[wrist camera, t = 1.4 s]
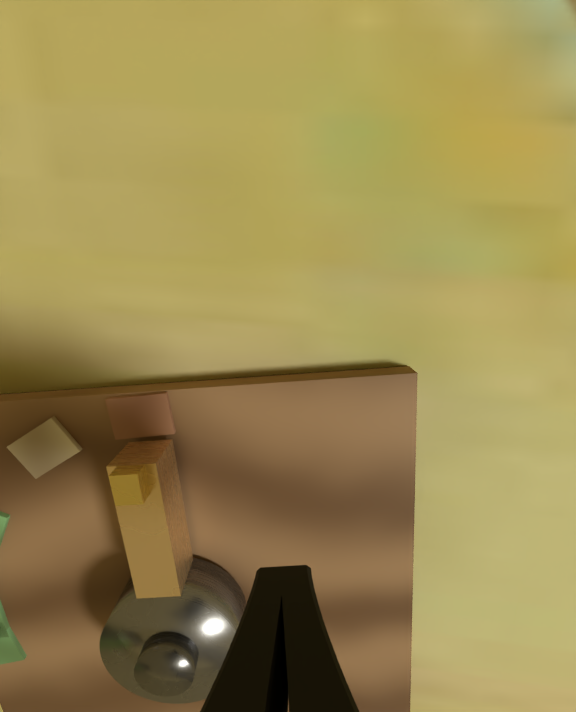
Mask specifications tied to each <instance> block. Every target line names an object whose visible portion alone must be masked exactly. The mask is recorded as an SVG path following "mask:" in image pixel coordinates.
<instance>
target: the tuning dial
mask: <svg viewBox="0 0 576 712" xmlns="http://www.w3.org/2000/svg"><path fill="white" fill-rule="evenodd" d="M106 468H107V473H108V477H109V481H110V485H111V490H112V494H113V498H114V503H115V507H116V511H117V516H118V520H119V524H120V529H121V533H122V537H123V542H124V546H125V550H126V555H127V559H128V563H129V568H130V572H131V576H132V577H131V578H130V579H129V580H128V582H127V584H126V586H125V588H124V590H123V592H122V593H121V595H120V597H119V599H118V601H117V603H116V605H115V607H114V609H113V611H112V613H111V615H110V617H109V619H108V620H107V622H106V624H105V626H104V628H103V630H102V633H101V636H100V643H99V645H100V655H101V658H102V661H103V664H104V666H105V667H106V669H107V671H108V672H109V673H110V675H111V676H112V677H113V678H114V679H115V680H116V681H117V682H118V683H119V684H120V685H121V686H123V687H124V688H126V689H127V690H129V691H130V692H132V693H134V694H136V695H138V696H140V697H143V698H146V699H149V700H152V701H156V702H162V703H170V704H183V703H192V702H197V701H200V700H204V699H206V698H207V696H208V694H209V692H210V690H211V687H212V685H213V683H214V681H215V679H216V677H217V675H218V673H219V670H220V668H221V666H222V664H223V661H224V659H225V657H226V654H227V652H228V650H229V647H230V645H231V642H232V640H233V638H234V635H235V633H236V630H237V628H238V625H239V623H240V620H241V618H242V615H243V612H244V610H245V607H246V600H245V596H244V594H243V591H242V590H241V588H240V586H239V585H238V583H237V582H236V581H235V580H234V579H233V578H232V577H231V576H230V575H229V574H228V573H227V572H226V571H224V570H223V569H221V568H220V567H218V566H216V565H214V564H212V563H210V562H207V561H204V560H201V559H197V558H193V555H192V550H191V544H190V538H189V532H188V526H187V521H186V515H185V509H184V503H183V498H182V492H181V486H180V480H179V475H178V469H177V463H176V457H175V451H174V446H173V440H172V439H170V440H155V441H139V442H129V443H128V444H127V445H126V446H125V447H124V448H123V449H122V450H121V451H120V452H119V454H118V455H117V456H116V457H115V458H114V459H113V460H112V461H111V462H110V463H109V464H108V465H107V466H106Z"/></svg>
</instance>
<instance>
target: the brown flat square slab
mask: <svg viewBox="0 0 576 712" xmlns="http://www.w3.org/2000/svg"><path fill="white" fill-rule="evenodd" d="M416 411H417V372H415V371H414V370H413V369H412V368H410V367H409V366H404V367H390V368H375V369H361V370H346V371H331V372H317V373H302V374H288V375H273V376H259V377H244V378H230V379H215V380H201V381H186V382H172V383H157V384H143V385H128V386H113V387H99V388H84V389H70V390H55V391H41V392H26V393H12V394H0V704H1V707H2V709H3V712H200V711H201V709H202V707H203V705H204V702H205V700H206V699H204V700H200V701H197V702H192V703H183V704H170V703H162V702H156V701H152V700H149V699H146V698H143V697H140V696H138V695H136V694H134V693H132V692H130V691H129V690H127V689H126V688H124V687H123V686H121V685H120V684H119V683H118V682H117V681H116V680H115V679H114V678H113V677H112V676H111V675H110V673H109V672H108V671H107V669H106V667H105V666H104V664H103V661H102V658H101V655H100V645H99V643H100V636H101V633H102V630H103V628H104V626H105V624H106V622H107V620H108V619H109V617H110V615H111V613H112V611H113V609H114V607H115V605H116V603H117V601H118V599H119V597H120V595H121V593H122V592H123V590H124V588H125V586H126V584H127V582H128V580H129V579H130V578H131V577H132V576H131V572H130V568H129V563H128V559H127V555H126V550H125V546H124V542H123V537H122V533H121V529H120V524H119V520H118V516H117V511H116V507H115V503H114V498H113V494H112V490H111V485H110V481H109V477H108V473H107V468H106V466H107V465H108V464H109V463H110V462H111V461H112V460H113V459H114V458H115V457H116V456H117V455H118V454H119V452H120V451H121V450H122V449H123V448H124V447H125V446H126V445H127V444H128V443H129V442H139V441H155V440H170V439H172V440H173V446H174V451H175V457H176V463H177V469H178V475H179V480H180V486H181V492H182V498H183V503H184V509H185V515H186V521H187V526H188V532H189V538H190V544H191V550H192V555H193V558H197V559H201V560H204V561H207V562H210V563H212V564H214V565H216V566H218V567H220V568H221V569H223V570H224V571H226V572H227V573H228V574H229V575H230V576H231V577H232V578H233V579H234V580H235V581H236V582H237V583H238V585H239V586H240V588H241V590H242V591H243V594H244V596H245V600H246V604H247V601H248V598H249V595H250V592H251V589H252V586H253V583H254V579H255V575H256V571H257V570H258V569H259V568H260V567H277V566H295V565H307V566H309V567H310V568H311V573H312V579H313V584H314V589H315V593H316V597H317V600H318V604H319V607H320V611H321V614H322V617H323V620H324V623H325V626H326V629H327V632H328V635H329V638H330V640H331V643H332V646H333V648H334V651H335V654H336V656H337V659H338V662H339V664H340V667H341V669H342V672H343V674H344V677H345V679H346V682H347V684H348V686H349V689H350V691H351V693H352V696H353V698H354V700H355V703H356V705H357V707H358V710H359V712H410V687H411V641H412V595H413V549H414V503H415V457H416ZM288 712H289V700H288Z"/></svg>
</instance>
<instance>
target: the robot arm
mask: <svg viewBox="0 0 576 712" xmlns="http://www.w3.org/2000/svg"><path fill="white" fill-rule="evenodd" d="M288 700H289V712H359V710H358V707H357V705H356V703H355V700H354V698H353V696H352V693H351V691H350V689H349V686H348V684H347V682H346V679H345V677H344V674H343V672H342V669H341V667H340V664H339V662H338V659H337V656H336V654H335V651H334V648H333V646H332V643H331V640H330V638H329V635H328V632H327V629H326V626H325V623H324V620H323V617H322V614H321V611H320V607H319V604H318V600H317V597H316V593H315V589H314V584H313V579H312V573H311V568H310V567H309V566H307V565H295V566H277V567H260V568H259V569H258V570H257V571H256V575H255V579H254V583H253V586H252V589H251V592H250V595H249V598H248V601H247V604H246V607H245V610H244V612H243V615H242V618H241V620H240V623H239V625H238V628H237V630H236V633H235V635H234V638H233V640H232V642H231V645H230V647H229V650H228V652H227V654H226V657H225V659H224V661H223V664H222V666H221V668H220V670H219V673H218V675H217V677H216V679H215V681H214V683H213V685H212V687H211V690H210V692H209V694H208V696H207V698H206V700H205V702H204V705H203V707H202V709H201V711H200V712H288Z"/></svg>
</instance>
